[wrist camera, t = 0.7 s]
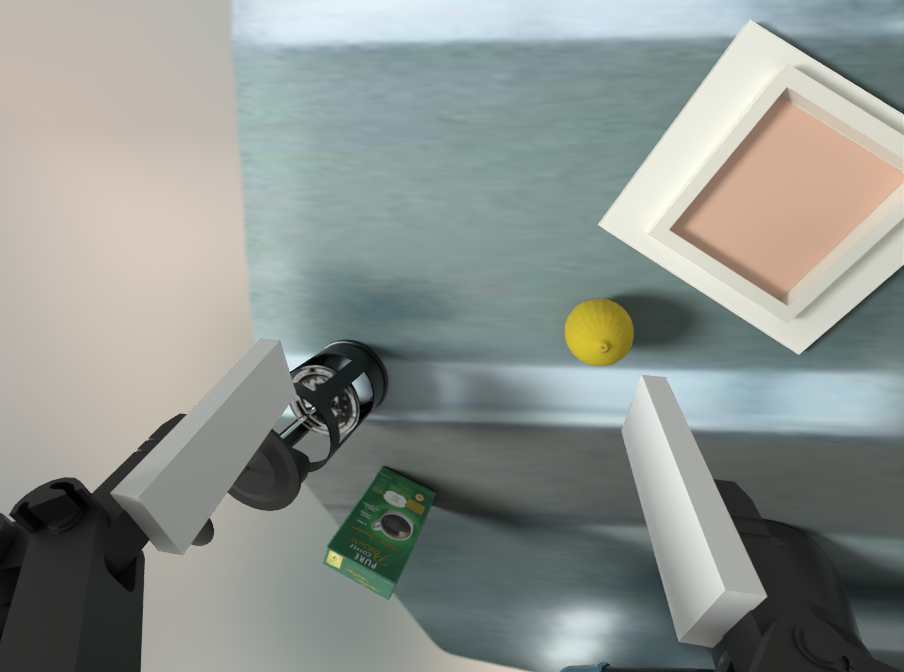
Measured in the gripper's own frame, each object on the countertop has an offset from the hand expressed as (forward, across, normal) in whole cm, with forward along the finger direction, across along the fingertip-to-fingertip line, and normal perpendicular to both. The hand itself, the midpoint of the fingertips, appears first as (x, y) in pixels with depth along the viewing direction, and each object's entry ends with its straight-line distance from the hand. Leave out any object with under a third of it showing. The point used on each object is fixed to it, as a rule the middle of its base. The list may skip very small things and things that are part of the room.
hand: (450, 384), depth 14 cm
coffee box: (+18, +9, +34) cm, 40 cm away
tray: (+24, -22, -1) cm, 32 cm away
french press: (+23, +16, +21) cm, 35 cm away
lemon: (+22, -10, +10) cm, 27 cm away
